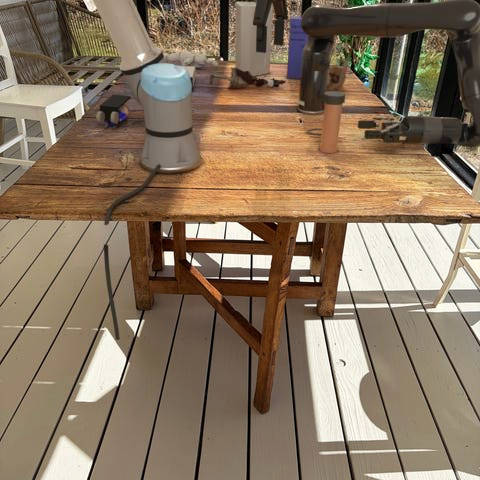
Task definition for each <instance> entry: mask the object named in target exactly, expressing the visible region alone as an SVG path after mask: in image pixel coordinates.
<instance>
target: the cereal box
mask: <svg viewBox="0 0 480 480" xmlns="http://www.w3.org/2000/svg"><path fill="white" fill-rule="evenodd" d="M301 18H302V16H301V17H294V16H292V17H291V16H290V18H289V19H290V20H289V34H288V37H289V38H288V50H287V51H288V52H287V64H286V65H287V67H286V79H287V80H288V79H289V80H290V79H291V80H292V79H293V80H294V79H295V80H300V78H301V66H302V53H303V49H304V47H305V45H306V43H307V38H308V35H307V34H306V33H305V32H304V31H303V30H302V27H301Z"/></svg>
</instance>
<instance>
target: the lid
mask: <svg viewBox="0 0 480 480" xmlns="http://www.w3.org/2000/svg"><path fill="white" fill-rule="evenodd" d="M323 101H324V102H325V103H329V104H342V103H343V104H345V101H346V93H344V92H342V91H337V90H335V91H329V90H327V92H325V93H324V99H323Z"/></svg>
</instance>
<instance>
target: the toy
mask: <svg viewBox="0 0 480 480" xmlns="http://www.w3.org/2000/svg"><path fill="white" fill-rule="evenodd" d="M163 55H164V57H165V59H166V61H167V62H170V63H176V62H177V63H179V64H180V66H191V65H192V64H193V66H195V69H201V66H204V65H207V64H212V65H213V66H214V67H216V68H217V67H218V66H219V63H218V62H217V61H216V60H215V59H213V58H207V56H206V55H205V54H202V53H201V51H197V52H196V53H193V52H190V51H187V50H184V51H177V52H172V53H169V52H163Z"/></svg>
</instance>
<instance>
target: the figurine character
mask: <svg viewBox="0 0 480 480" xmlns="http://www.w3.org/2000/svg"><path fill="white" fill-rule="evenodd" d="M131 98H132V95H122V94H111V96H110V97H108V98H107V99H105V100H104V101H103V102H101V104H99V110H98V111H96V115H95V119H96V123H98V124H103V123H106V124H105V125H104V127H103V128H104V129H107V128H108V127H110V126H113V127H112V129H114V130H115V129H116V128H117V127H118V126H119V124H120V123H121V122H122V121H124V120H126V119H127V117H128V116H129V114H130V110H129V107H128V106H127V104H126V103H127V102H128V101H129V100H130V99H131Z"/></svg>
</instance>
